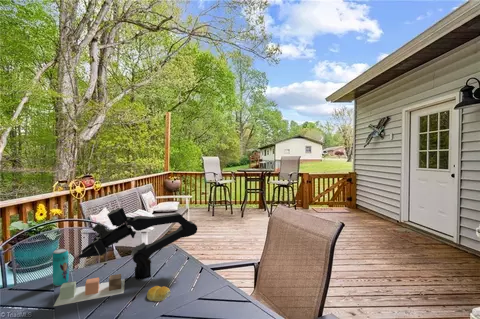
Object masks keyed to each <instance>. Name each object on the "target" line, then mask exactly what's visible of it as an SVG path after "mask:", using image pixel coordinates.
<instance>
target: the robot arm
mask: <svg viewBox="0 0 480 319" xmlns="http://www.w3.org/2000/svg"><path fill="white" fill-rule="evenodd" d="M106 215H107V218H108V219H109V221H110V224H111V225H112V226H113V227H114V226H115V228H113V229H108V228H107V227H106V226H105V225H104V224H101V223H100V222H97V223H96V224H95V225H94V226H93V227H92V231H94V232H95V233H97V234H96V236H94V238H93V240H92V242H91V243H89V244H87V246H86V247H84V248H83V249H82V250H81V253H80V254H79V255H78V258H79V259H84V258H91V257H99V256H104V255H105V254H106V252H107V250H108V249H109V248H110V247H111V246H112V245H114V244H118V243H119V242H120V241H121V240H124V239H126V238H127V237H129V236H131V238H132V239H134V238H135V235H136V234H137V232H136V231H138V232H140V231H144V230H146V229H149V228H151V227H154V226H161V225H167V224H174V223H178V224H179V225H180V226H179V227H178V228H177V229H175V230H174V231H171V232H170V233H169V234H165V236H163V237H159V238H158V239H156V240H155V241H153V242H151V243H149V244H146V243H145V242H142V243H140V244H139V245H135V247H134V248H133V249H132V251H131V258H132V261H133V263H135V267H134V279H135V280H137V281H140V280H143V279H144V280H145V279H151V278H152V270H151V269H152V266H151V264H152V260H151V258H150V257H151V256H152V255H153V254H154V253H156V252H157V251H159V250H162V249H163V248H165V247H167V246H169V245H170V244H173V243H174V242H176V241H178V240H180V239H183V238H189V237H190V236H191V237H192V236H193V235H196V234H197V231H198V225H196V224H195V223H194V222H193V221H191V220H187V218H185V217H184V216H183V215H182V214H181V213H179V212H176V213H171V214H164V215H158V216H157V215H156V216H147V215H136V216H127V215H126V212H125V210H124V208H123V207H119V208H117V209H113V210H112V211H110V212H108V213H107V214H106Z"/></svg>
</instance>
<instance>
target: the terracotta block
mask: <svg viewBox="0 0 480 319" xmlns="http://www.w3.org/2000/svg"><path fill="white" fill-rule="evenodd" d="M99 284H100V277H98V276H97V277H93V278H87V279H86V281H85V284H84V286H85V295H90V294H95V293H98V291H99Z"/></svg>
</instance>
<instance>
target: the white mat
mask: <svg viewBox="0 0 480 319" xmlns="http://www.w3.org/2000/svg"><path fill="white" fill-rule="evenodd" d="M125 281H126V279H125V278H123V279H121V289H117V290H112V291H109V281H107V282H101V283H100V282H99V291H98V293H95V294H90V295H85V285H84V286H78V287H77V286H76V293H75V296H74V298H68V299H63V300H60V294H59V295H58V297H57V299H56V301H55V302H54V305H52V306H53V307H58V306H63V305H70V304H75V303H79V302H83V301H84V302H85V301H89V300H95V299H101V298H105V297H111V296H116V295H120V294H125V293H124V292H125Z"/></svg>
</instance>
